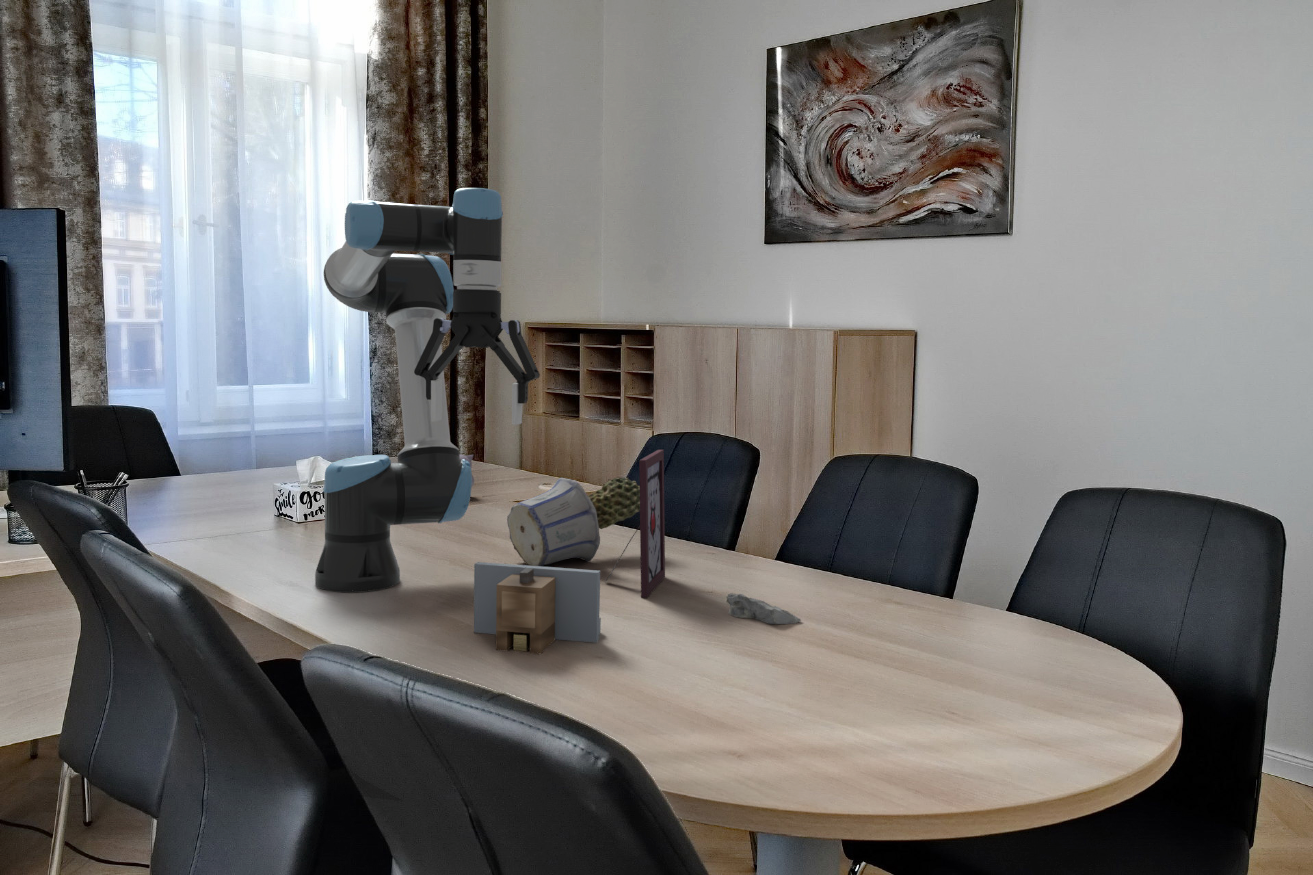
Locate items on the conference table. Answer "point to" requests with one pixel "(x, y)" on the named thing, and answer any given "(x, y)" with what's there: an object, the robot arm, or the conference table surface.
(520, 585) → the cabinet block
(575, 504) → the potted plant
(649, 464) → the picture frame
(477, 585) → the wall board
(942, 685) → the conference table surface
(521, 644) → the rail
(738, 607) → the stone
